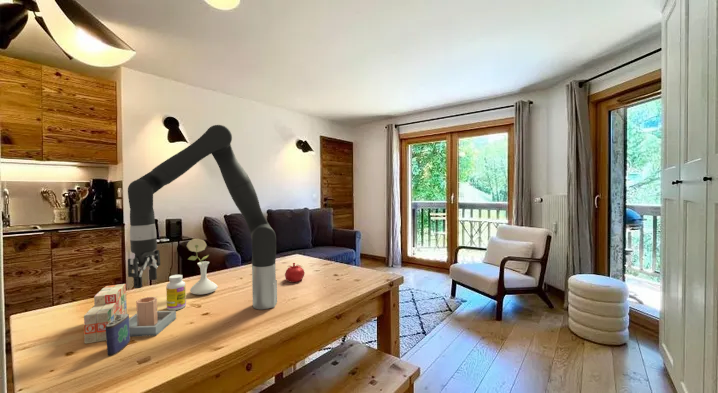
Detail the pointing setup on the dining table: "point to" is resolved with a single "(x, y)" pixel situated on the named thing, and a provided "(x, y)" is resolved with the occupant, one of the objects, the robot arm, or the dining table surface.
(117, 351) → the flask
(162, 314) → the tray
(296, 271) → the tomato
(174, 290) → the supplement bottle
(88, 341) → the stack of blocks
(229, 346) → the dining table surface
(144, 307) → the beaker
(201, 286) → the flower in vase
